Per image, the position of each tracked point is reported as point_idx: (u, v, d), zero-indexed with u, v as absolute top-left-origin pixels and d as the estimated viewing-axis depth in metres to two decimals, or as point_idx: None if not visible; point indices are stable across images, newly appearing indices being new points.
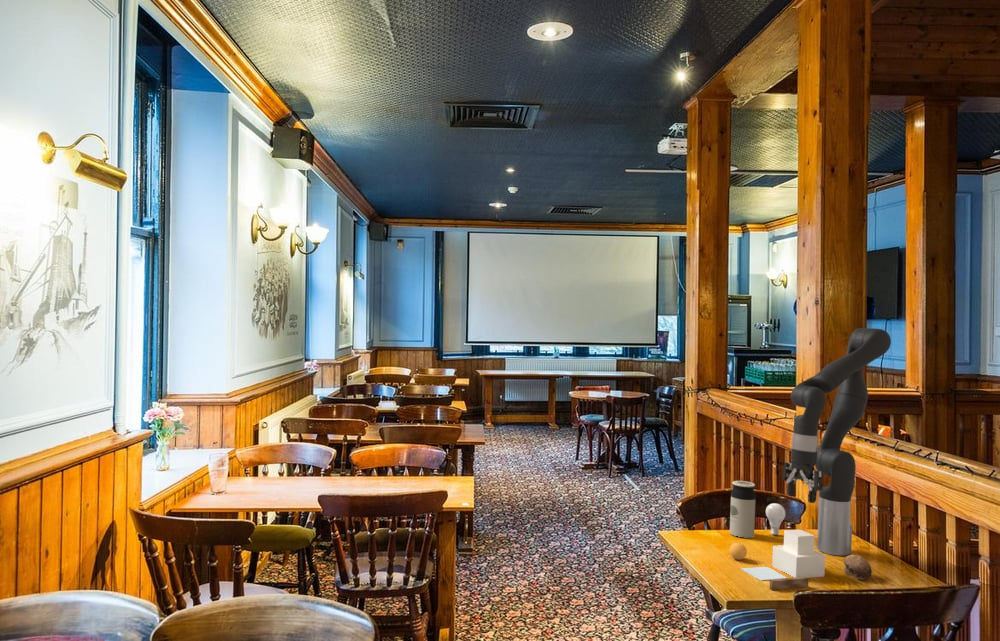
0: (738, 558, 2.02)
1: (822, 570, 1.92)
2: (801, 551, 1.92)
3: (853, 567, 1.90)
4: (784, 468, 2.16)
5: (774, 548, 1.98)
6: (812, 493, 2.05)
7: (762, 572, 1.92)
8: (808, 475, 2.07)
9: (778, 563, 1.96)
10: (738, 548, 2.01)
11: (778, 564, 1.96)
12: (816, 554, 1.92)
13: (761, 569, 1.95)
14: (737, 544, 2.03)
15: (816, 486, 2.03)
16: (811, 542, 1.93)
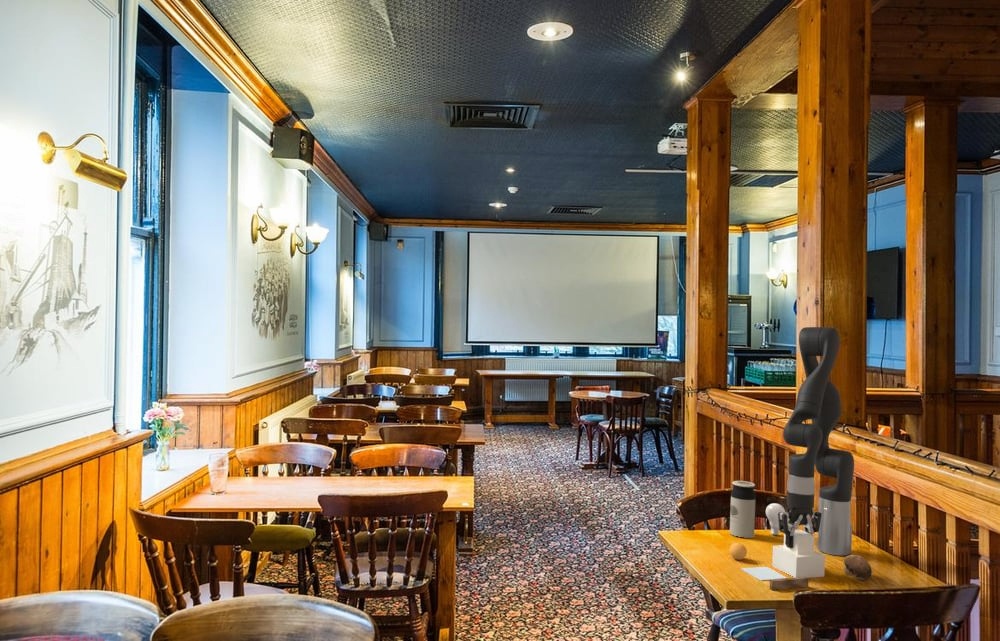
0: (738, 558, 2.02)
1: (822, 570, 1.92)
2: (801, 551, 1.92)
3: (853, 567, 1.90)
4: (785, 521, 1.93)
5: (774, 548, 1.98)
6: None
7: (762, 572, 1.92)
8: None
9: (778, 563, 1.96)
10: (738, 548, 2.01)
11: (778, 564, 1.96)
12: (816, 554, 1.92)
13: (761, 569, 1.95)
14: (737, 544, 2.03)
15: (818, 528, 1.96)
16: (811, 542, 1.93)
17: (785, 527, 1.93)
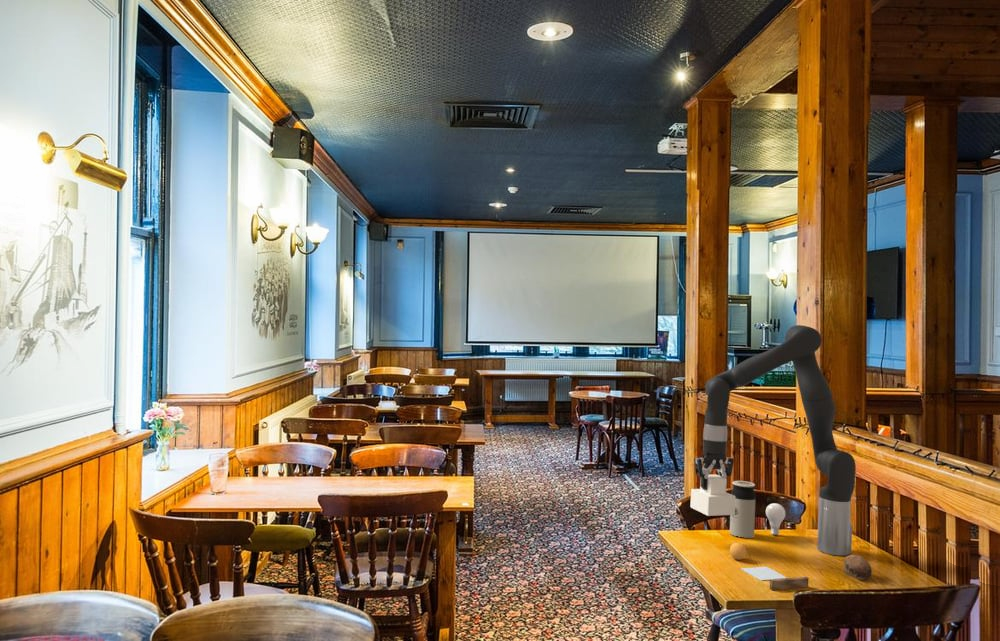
0: (738, 558, 2.02)
1: (733, 509, 2.13)
2: (714, 492, 2.14)
3: (853, 567, 1.90)
4: (700, 465, 2.14)
5: (692, 491, 2.20)
6: None
7: (762, 572, 1.92)
8: (723, 463, 2.17)
9: (695, 504, 2.18)
10: (738, 548, 2.01)
11: (695, 505, 2.18)
12: (727, 495, 2.14)
13: (761, 569, 1.95)
14: (737, 544, 2.03)
15: (730, 472, 2.18)
16: (723, 484, 2.15)
17: (700, 470, 2.14)
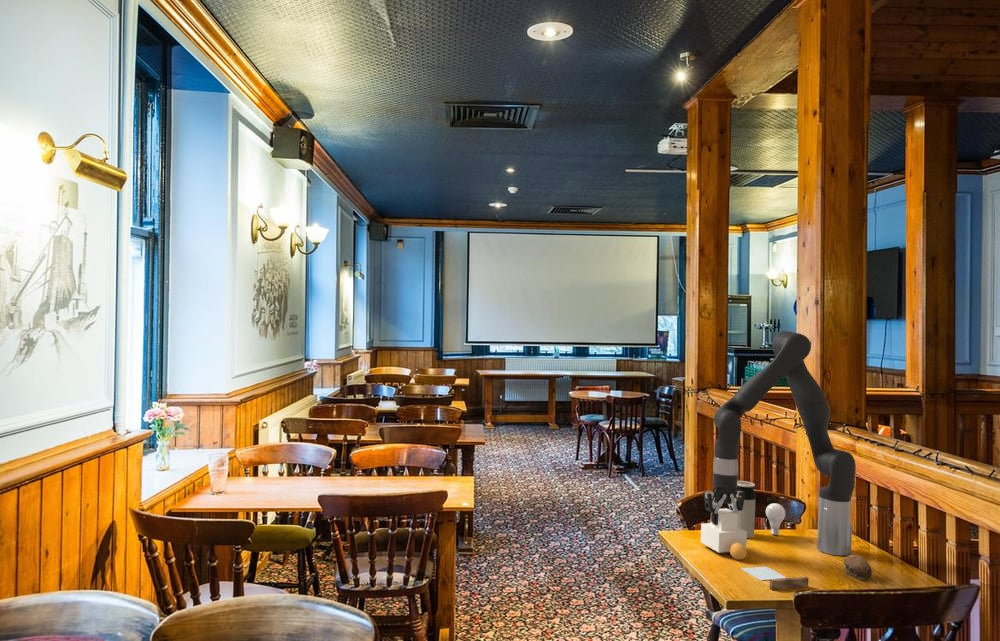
0: (738, 558, 2.02)
1: (744, 545, 2.07)
2: (725, 528, 2.08)
3: (853, 567, 1.90)
4: (710, 499, 2.09)
5: (702, 525, 2.14)
6: None
7: (762, 572, 1.92)
8: None
9: (705, 539, 2.12)
10: (738, 548, 2.01)
11: (705, 540, 2.12)
12: (739, 530, 2.08)
13: (761, 569, 1.95)
14: (737, 544, 2.03)
15: (741, 506, 2.12)
16: (734, 519, 2.09)
17: (710, 505, 2.09)
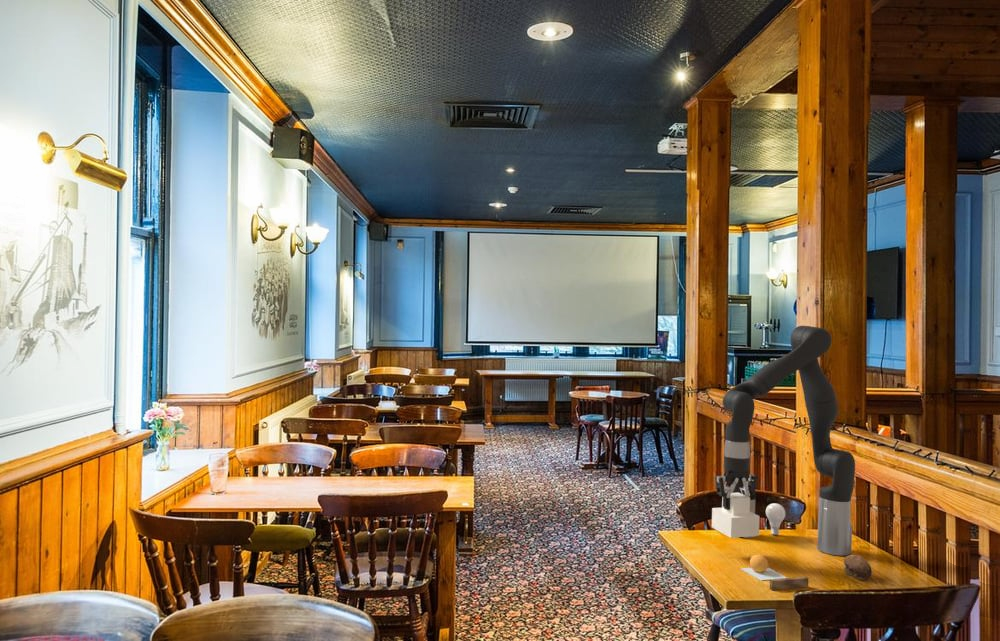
0: (757, 556, 1.92)
1: (757, 530, 2.02)
2: (737, 512, 2.02)
3: (853, 567, 1.90)
4: (721, 484, 2.03)
5: (713, 510, 2.08)
6: None
7: (762, 572, 1.92)
8: (746, 481, 2.06)
9: (716, 524, 2.07)
10: None
11: (716, 525, 2.07)
12: (751, 515, 2.03)
13: None
14: None
15: (754, 490, 2.06)
16: (746, 504, 2.03)
17: (721, 489, 2.03)
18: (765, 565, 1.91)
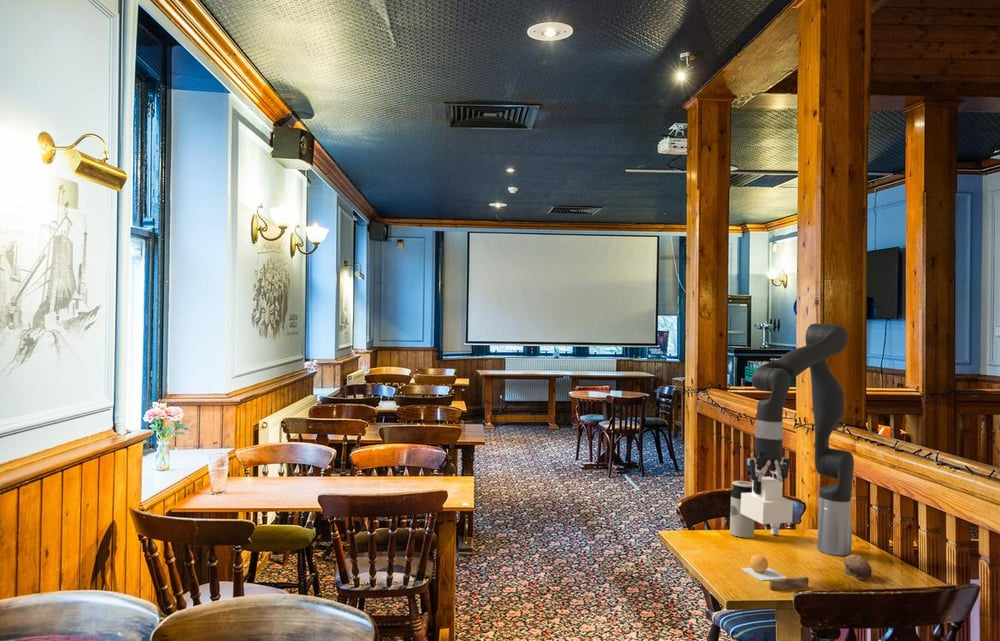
0: (757, 556, 1.92)
1: (790, 516, 1.89)
2: (769, 497, 1.89)
3: (853, 567, 1.90)
4: (752, 466, 1.89)
5: (742, 495, 1.95)
6: None
7: (762, 572, 1.92)
8: (778, 464, 1.92)
9: (746, 510, 1.93)
10: None
11: (746, 511, 1.93)
12: (784, 500, 1.89)
13: None
14: None
15: (786, 474, 1.93)
16: (779, 488, 1.90)
17: (752, 472, 1.89)
18: (765, 565, 1.91)
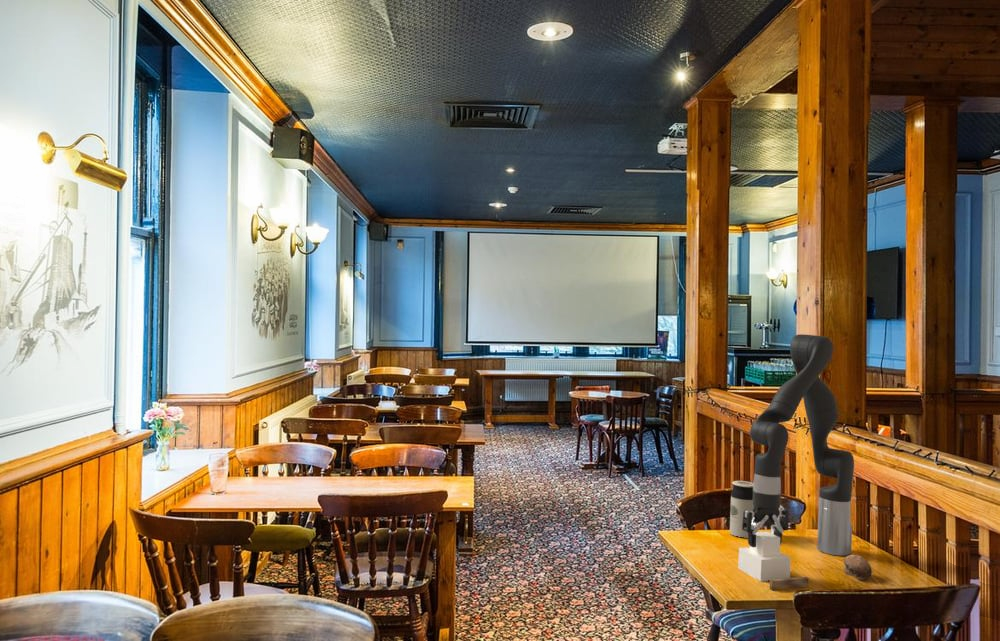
0: None
1: (788, 573, 1.89)
2: (766, 554, 1.89)
3: (853, 567, 1.90)
4: (749, 519, 1.89)
5: (740, 550, 1.95)
6: (781, 534, 1.93)
7: None
8: (777, 517, 1.92)
9: (744, 566, 1.93)
10: None
11: (744, 566, 1.93)
12: (782, 556, 1.89)
13: None
14: None
15: (787, 526, 1.93)
16: (776, 544, 1.90)
17: (748, 525, 1.89)
18: None
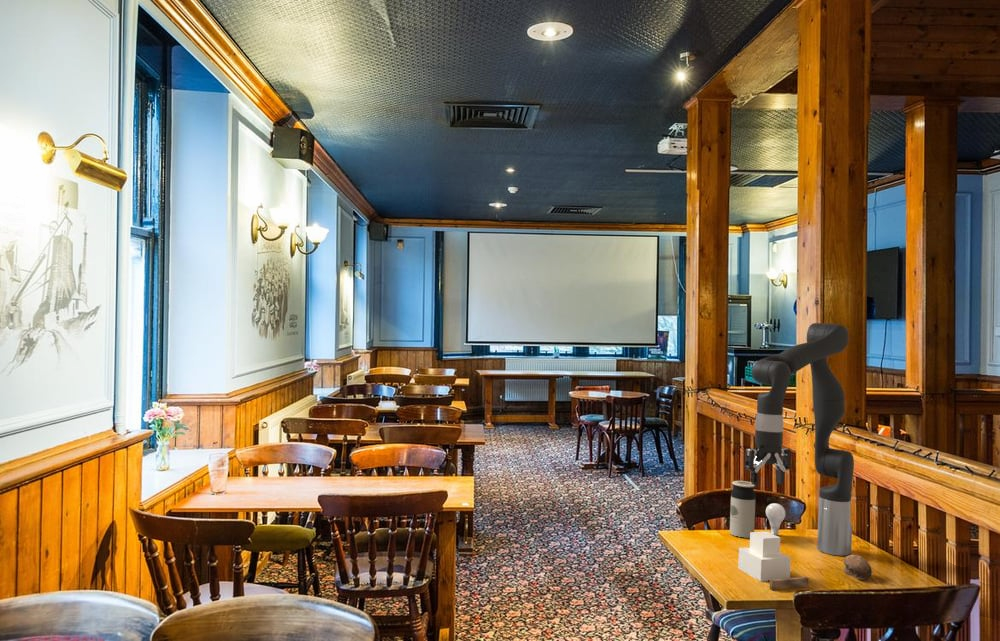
0: None
1: (788, 573, 1.89)
2: (766, 554, 1.89)
3: (853, 567, 1.90)
4: (752, 456, 1.89)
5: (740, 550, 1.95)
6: (783, 473, 1.93)
7: None
8: (779, 456, 1.92)
9: (744, 566, 1.93)
10: None
11: (744, 566, 1.93)
12: (782, 556, 1.89)
13: None
14: None
15: (789, 465, 1.93)
16: (776, 544, 1.90)
17: (751, 463, 1.89)
18: None
